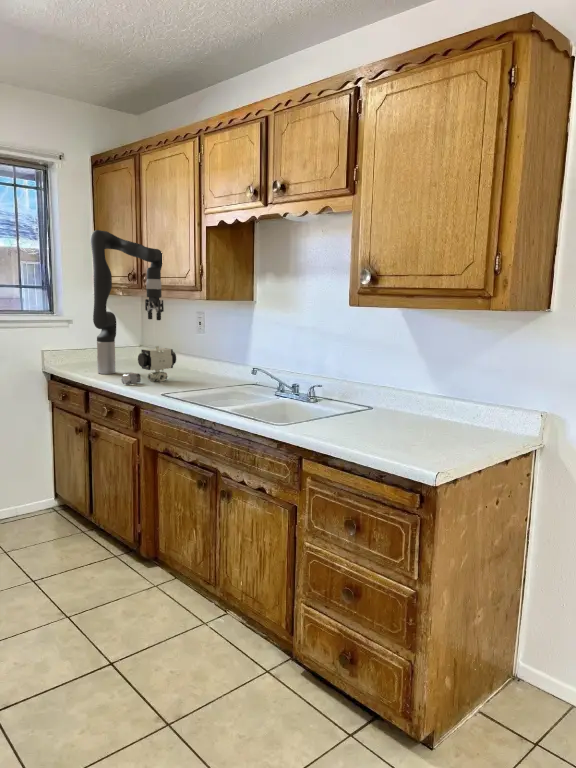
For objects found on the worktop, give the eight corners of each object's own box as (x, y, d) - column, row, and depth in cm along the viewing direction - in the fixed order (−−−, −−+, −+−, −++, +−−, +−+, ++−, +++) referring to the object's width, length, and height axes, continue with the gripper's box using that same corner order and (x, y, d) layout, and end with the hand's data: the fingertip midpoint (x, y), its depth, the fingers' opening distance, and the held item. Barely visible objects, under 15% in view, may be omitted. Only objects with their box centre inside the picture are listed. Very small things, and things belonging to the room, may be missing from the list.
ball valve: (146, 384, 280) (145, 347, 277) (137, 381, 286) (137, 346, 283) (178, 380, 292) (177, 346, 289) (169, 378, 298) (169, 344, 295)
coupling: (120, 384, 278) (120, 373, 277) (135, 382, 283) (135, 371, 282) (126, 385, 274) (126, 374, 273) (141, 384, 280) (141, 373, 279)
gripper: (140, 287, 297) (141, 319, 300) (154, 288, 287) (155, 320, 290) (153, 288, 302) (153, 318, 305) (167, 288, 292) (168, 320, 295)
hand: (154, 319), depth 297 cm, fingers open, 8 cm apart
